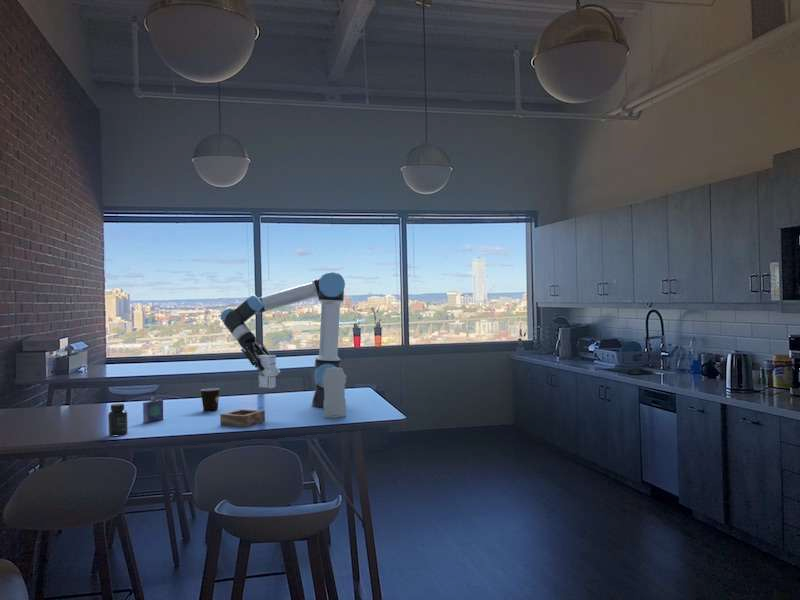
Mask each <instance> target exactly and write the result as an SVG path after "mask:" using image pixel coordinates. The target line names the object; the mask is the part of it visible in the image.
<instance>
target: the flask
mask: <svg viewBox="0 0 800 600" xmlns="http://www.w3.org/2000/svg"><path fill="white" fill-rule="evenodd" d="M142 414H143V417H142V418H143V421H142V422H143V424H149V423H148V422H150V423H154V422H153V421H155V422H159V421H158V420H160V421H163V420H164V400H163V399H159V398H156V399H155V397H154V396H151V397H150V400H149V401H144V402H143V403H142Z"/></svg>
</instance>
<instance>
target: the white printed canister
mask: <svg viewBox="0 0 800 600" xmlns="http://www.w3.org/2000/svg"><path fill="white" fill-rule="evenodd" d="M258 357H259V359H260V362H261V363H262V362H263V364H264V365H265V366H266V367H267V369H268V370H269V371H270V373H271V374H270V375H269V376H268V377H267V378H266V376H265V375H264V374H263V372H262V371H261V370H260V369H259V368H258V367H257V368H258V371H257V373H258V378H257V379H258V383H257V384H258V388H259V389H273V388H276V385H277V384H276V381H277V380H276V366H277V364H276V362H277V361H276V360H277V357H276V354H271V355H260V356H259V355H258Z"/></svg>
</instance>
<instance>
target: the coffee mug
mask: <svg viewBox="0 0 800 600" xmlns="http://www.w3.org/2000/svg"><path fill="white" fill-rule="evenodd" d="M200 394H201V401H202V408H203V412H205V411H212V412H216V410H217V411H218V410H219V399H220V388H218V387H211V388H202V389H200Z"/></svg>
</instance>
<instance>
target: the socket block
mask: <svg viewBox="0 0 800 600" xmlns="http://www.w3.org/2000/svg"><path fill="white" fill-rule="evenodd" d="M265 412H266V411H265V410H258V409H246V408H245V409H244V408H240V409H236V410H232V411H228V412H224V413H221V414H220V415H219V416H220V417H219V418H220V420H219V421H220V422H219V423H220V426H229V427H238V428H239V427H240V428H247V427H250V426H253V425H257V424H260V422H261V423H264V422H265V421H266V418H265V417H266V416H265ZM263 421H264V422H263Z"/></svg>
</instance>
